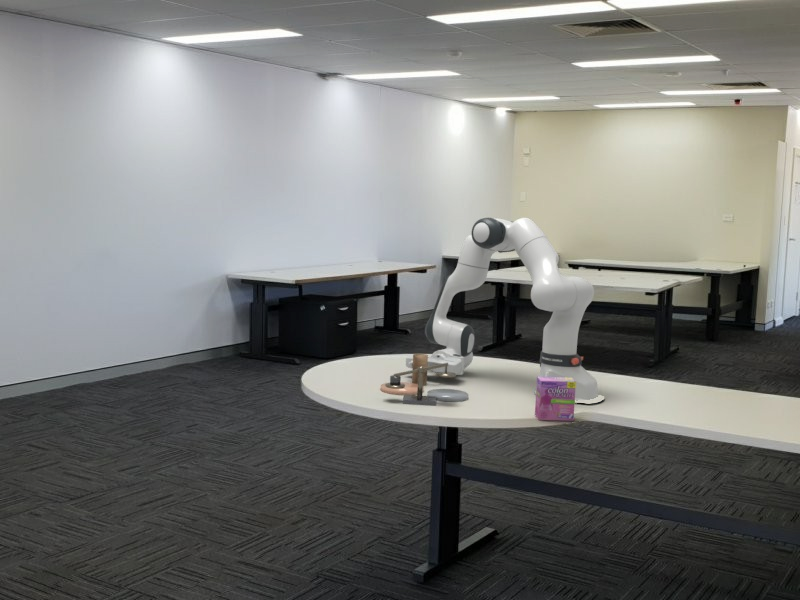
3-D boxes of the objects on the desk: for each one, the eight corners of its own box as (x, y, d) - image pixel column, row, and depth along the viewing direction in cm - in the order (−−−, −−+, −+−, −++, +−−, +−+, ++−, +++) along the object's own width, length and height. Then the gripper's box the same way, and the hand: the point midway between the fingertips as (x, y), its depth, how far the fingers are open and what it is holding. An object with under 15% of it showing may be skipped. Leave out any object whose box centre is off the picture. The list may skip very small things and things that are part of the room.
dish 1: (431, 390, 275) (431, 386, 275) (408, 397, 263) (408, 393, 263) (396, 383, 282) (396, 380, 282) (372, 390, 271) (372, 386, 271)
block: (429, 384, 284) (430, 355, 283) (421, 386, 280) (422, 356, 279) (416, 382, 287) (418, 353, 286) (408, 384, 283) (410, 355, 281)
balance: (454, 401, 260) (456, 361, 259) (454, 406, 253) (456, 365, 252) (385, 397, 261) (387, 357, 260) (384, 402, 254) (385, 361, 253)
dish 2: (475, 396, 268) (475, 393, 267) (455, 403, 257) (455, 400, 257) (440, 390, 275) (440, 387, 275) (419, 397, 264) (419, 393, 264)
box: (538, 420, 241) (540, 380, 240) (534, 415, 246) (536, 376, 245) (574, 421, 241) (576, 381, 240) (569, 416, 247) (572, 377, 246)
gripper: (418, 349, 301) (396, 354, 289) (468, 357, 289) (447, 362, 278) (417, 367, 301) (395, 372, 290) (467, 375, 290) (446, 381, 279)
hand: (421, 367), depth 284 cm, fingers open, 8 cm apart
